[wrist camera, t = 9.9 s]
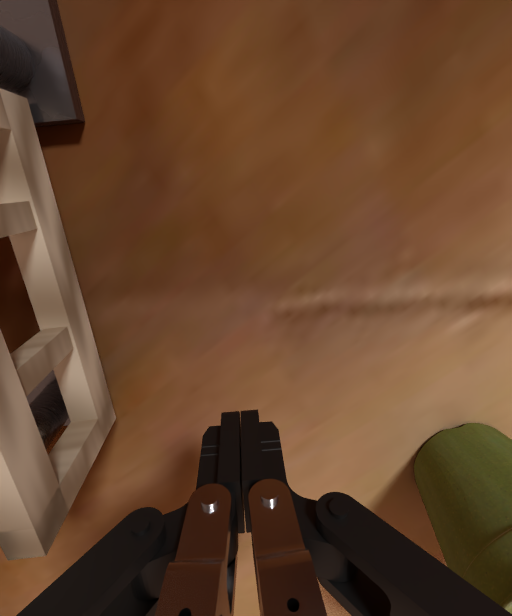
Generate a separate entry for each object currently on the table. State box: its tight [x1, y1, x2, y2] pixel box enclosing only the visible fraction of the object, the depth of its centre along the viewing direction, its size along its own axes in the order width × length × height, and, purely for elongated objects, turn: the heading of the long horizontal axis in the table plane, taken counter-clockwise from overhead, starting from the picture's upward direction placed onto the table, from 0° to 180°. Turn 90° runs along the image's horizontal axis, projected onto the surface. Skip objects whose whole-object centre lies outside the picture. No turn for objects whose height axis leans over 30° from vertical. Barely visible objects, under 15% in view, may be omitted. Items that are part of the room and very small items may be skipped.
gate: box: [0, 88, 116, 560], centre depth 15 cm, size 17×2×8 cm, turn 5°
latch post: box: [26, 370, 71, 449], centre depth 17 cm, size 4×4×12 cm
